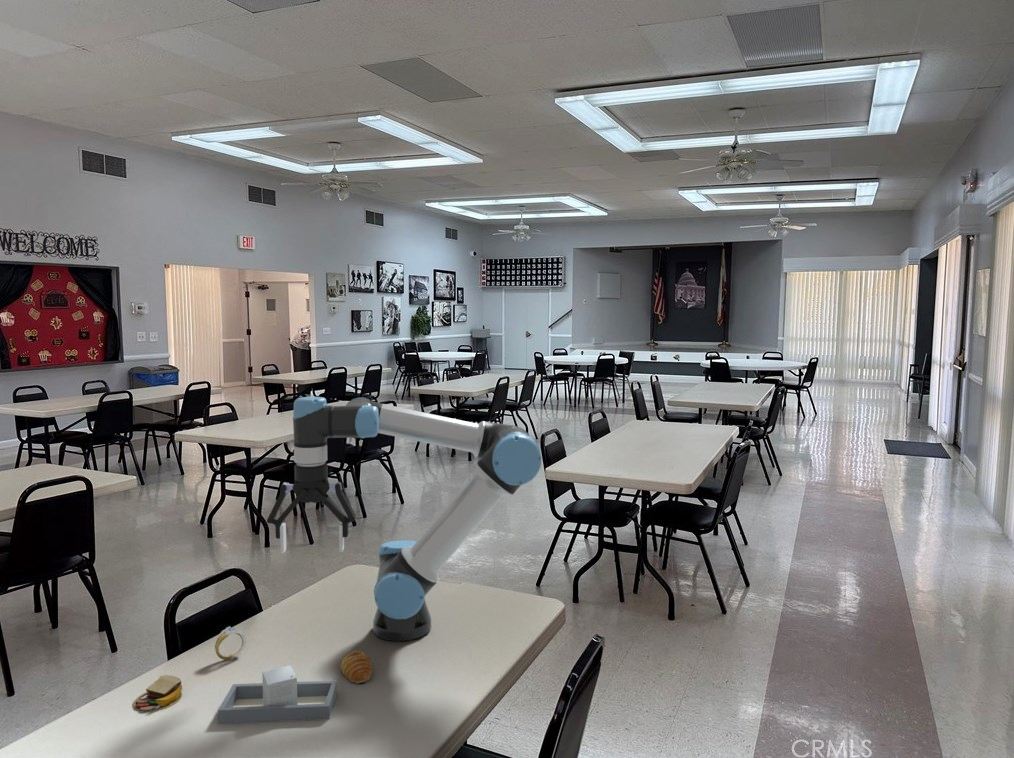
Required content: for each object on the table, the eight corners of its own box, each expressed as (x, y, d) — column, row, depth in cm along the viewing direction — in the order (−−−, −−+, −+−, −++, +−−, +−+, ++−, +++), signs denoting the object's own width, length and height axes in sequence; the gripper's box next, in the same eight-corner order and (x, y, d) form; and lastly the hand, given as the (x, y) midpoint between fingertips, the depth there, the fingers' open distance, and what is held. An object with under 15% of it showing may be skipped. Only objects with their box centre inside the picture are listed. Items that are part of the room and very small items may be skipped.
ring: (216, 666, 165) (215, 633, 164) (214, 660, 167) (213, 628, 167) (247, 658, 168) (246, 626, 168) (244, 653, 171) (243, 621, 170)
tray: (337, 695, 152) (337, 680, 152) (329, 722, 142) (329, 706, 142) (233, 699, 150) (233, 684, 150) (218, 726, 140) (217, 710, 140)
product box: (292, 697, 151) (291, 664, 150) (298, 711, 145) (297, 677, 144) (262, 704, 148) (261, 671, 147) (267, 719, 142) (266, 684, 142)
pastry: (378, 682, 158) (378, 666, 157) (348, 688, 155) (348, 672, 154) (366, 662, 166) (367, 647, 166) (338, 668, 163) (338, 652, 162)
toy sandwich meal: (122, 708, 147) (122, 692, 147) (164, 685, 156) (164, 670, 156) (153, 720, 143) (152, 703, 143) (194, 696, 152) (194, 680, 152)
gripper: (366, 459, 169) (367, 544, 171) (260, 460, 167) (263, 546, 169) (362, 465, 161) (363, 555, 163) (251, 467, 159) (254, 557, 161)
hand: (312, 551), depth 166 cm, fingers open, 13 cm apart
